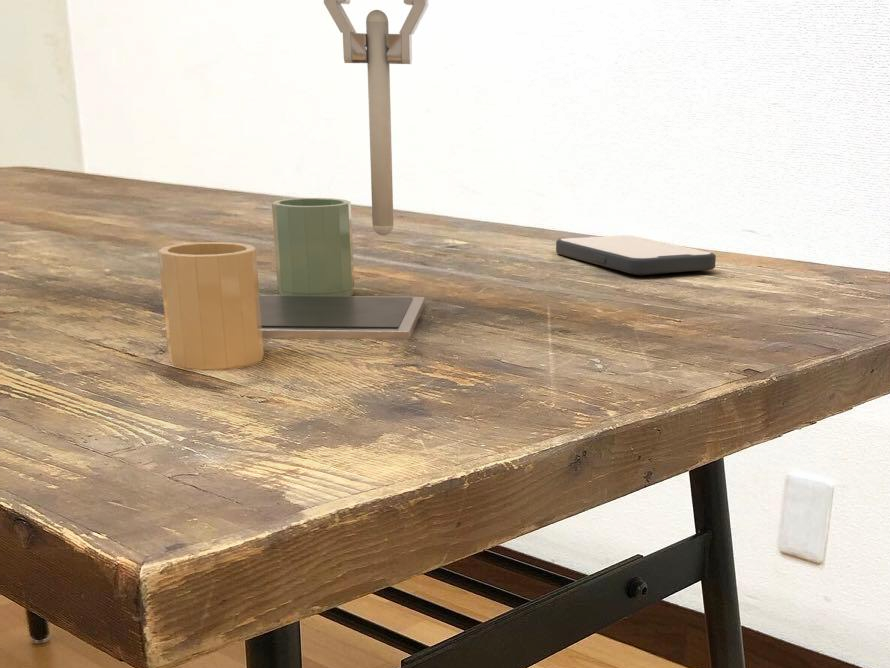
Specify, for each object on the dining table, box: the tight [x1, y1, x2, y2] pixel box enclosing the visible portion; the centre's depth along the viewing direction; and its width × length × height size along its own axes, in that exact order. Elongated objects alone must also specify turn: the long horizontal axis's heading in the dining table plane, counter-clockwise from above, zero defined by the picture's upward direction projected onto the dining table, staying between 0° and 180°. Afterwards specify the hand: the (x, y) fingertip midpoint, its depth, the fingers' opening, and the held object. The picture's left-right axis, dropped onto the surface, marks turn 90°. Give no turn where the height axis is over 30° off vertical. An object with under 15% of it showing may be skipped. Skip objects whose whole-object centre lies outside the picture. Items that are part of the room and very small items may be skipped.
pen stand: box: [157, 241, 265, 371], centre depth 73 cm, size 5×6×7 cm
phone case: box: [555, 234, 717, 277], centre depth 112 cm, size 9×2×16 cm
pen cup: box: [271, 197, 355, 296], centre depth 95 cm, size 6×6×7 cm
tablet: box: [161, 294, 426, 341], centre depth 85 cm, size 16×12×1 cm
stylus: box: [365, 9, 394, 236], centre depth 81 cm, size 1×1×14 cm
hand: (378, 63), depth 79 cm, fingers closed on stylus, 1 cm apart
